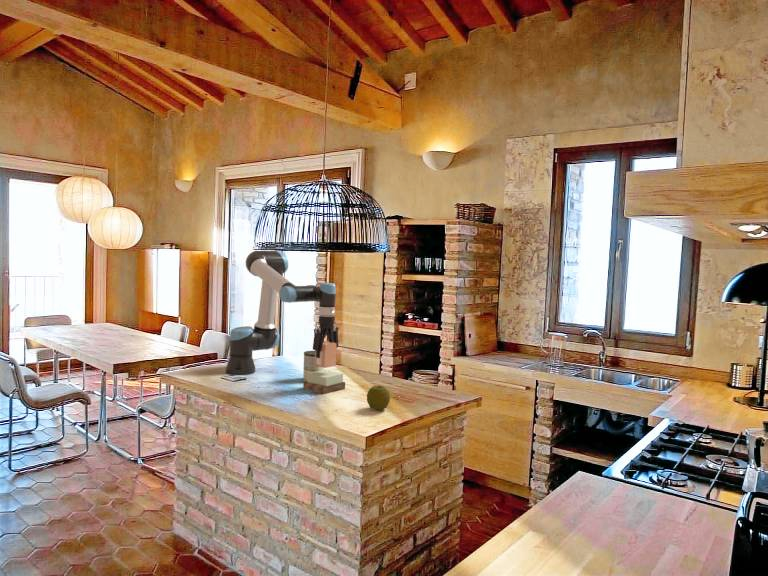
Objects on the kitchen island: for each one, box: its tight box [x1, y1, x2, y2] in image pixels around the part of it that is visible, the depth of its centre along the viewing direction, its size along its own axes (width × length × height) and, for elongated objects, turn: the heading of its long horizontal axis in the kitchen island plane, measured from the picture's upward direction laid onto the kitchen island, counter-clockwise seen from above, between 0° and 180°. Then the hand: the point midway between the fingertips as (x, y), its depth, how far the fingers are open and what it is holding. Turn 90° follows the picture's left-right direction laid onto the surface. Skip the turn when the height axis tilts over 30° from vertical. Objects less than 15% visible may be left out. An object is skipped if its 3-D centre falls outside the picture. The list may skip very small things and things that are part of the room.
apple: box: [366, 385, 391, 411], centre depth 241 cm, size 10×10×11 cm
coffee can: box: [302, 350, 324, 382], centre depth 289 cm, size 10×10×14 cm
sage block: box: [307, 369, 344, 386], centre depth 272 cm, size 12×12×4 cm
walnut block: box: [302, 380, 346, 395], centre depth 272 cm, size 14×14×4 cm
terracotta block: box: [314, 340, 337, 369], centre depth 271 cm, size 7×7×11 cm
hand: (325, 363), depth 271 cm, fingers closed on terracotta block, 7 cm apart
